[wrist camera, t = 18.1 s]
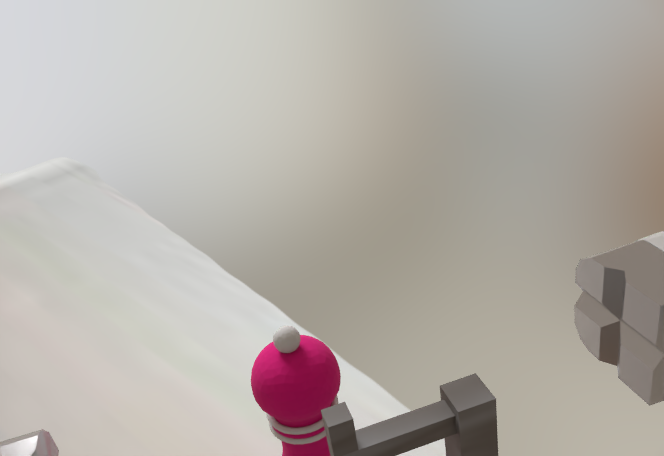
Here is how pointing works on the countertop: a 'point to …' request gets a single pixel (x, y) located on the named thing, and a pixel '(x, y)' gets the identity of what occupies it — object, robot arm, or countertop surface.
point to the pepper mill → (296, 390)
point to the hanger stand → (422, 425)
